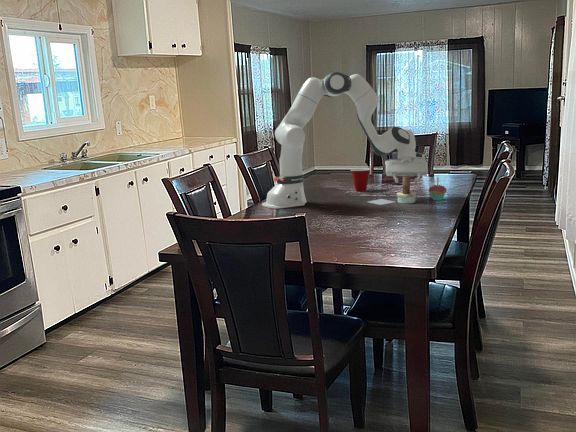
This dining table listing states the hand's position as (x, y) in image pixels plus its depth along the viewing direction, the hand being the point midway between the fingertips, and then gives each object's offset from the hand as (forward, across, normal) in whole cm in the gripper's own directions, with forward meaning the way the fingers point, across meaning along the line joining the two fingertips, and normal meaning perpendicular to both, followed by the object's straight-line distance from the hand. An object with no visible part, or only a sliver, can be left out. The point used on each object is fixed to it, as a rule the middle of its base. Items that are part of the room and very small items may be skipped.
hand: (406, 181), depth 274 cm
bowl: (+8, 0, +6) cm, 10 cm away
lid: (+5, 0, +4) cm, 6 cm away
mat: (+8, -12, +6) cm, 16 cm away
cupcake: (+3, +15, +11) cm, 19 cm away
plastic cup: (-14, -24, +28) cm, 40 cm away
